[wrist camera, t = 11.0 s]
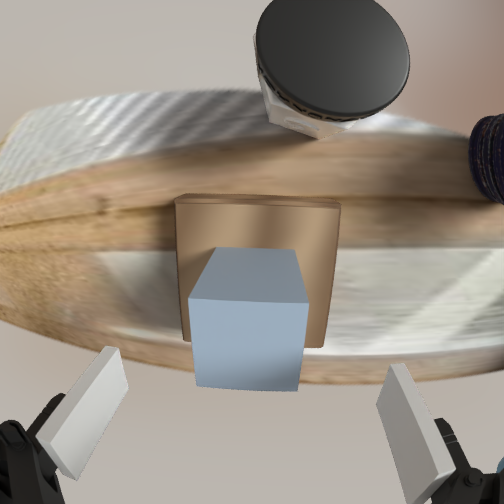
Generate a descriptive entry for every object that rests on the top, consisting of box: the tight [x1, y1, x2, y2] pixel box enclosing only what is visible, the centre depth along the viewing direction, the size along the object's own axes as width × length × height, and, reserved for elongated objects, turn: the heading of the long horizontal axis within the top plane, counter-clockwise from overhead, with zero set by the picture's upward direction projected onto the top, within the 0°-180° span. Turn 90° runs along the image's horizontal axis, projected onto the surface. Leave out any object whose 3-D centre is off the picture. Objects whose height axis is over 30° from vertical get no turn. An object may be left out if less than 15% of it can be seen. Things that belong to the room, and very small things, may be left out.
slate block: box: [188, 247, 309, 391], centre depth 20 cm, size 6×6×9 cm
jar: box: [253, 0, 410, 139], centre depth 17 cm, size 9×8×12 cm
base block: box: [174, 194, 341, 348], centre depth 26 cm, size 13×13×4 cm
